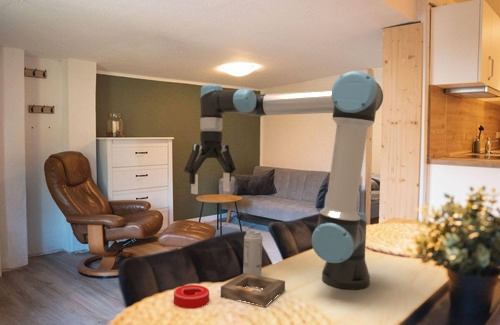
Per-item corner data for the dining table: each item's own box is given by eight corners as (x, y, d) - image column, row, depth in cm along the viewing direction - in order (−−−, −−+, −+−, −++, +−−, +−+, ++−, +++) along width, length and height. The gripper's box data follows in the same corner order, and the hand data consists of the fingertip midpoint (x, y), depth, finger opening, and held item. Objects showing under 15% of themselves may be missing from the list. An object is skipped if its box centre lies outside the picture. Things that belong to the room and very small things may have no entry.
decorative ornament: (180, 294, 110) (181, 283, 110) (212, 297, 109) (213, 286, 109) (168, 307, 101) (168, 295, 101) (203, 310, 99) (203, 299, 99)
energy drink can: (261, 280, 123) (262, 234, 122) (242, 279, 123) (243, 233, 122) (261, 274, 129) (262, 230, 128) (243, 273, 129) (244, 229, 128)
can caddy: (284, 290, 114) (285, 279, 114) (265, 307, 102) (265, 295, 102) (243, 282, 121) (243, 271, 120) (220, 297, 108) (220, 285, 108)
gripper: (232, 132, 142) (231, 189, 143) (173, 129, 125) (173, 193, 126) (245, 132, 136) (245, 191, 137) (186, 128, 120) (186, 195, 120)
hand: (210, 192), depth 131 cm, fingers open, 13 cm apart
